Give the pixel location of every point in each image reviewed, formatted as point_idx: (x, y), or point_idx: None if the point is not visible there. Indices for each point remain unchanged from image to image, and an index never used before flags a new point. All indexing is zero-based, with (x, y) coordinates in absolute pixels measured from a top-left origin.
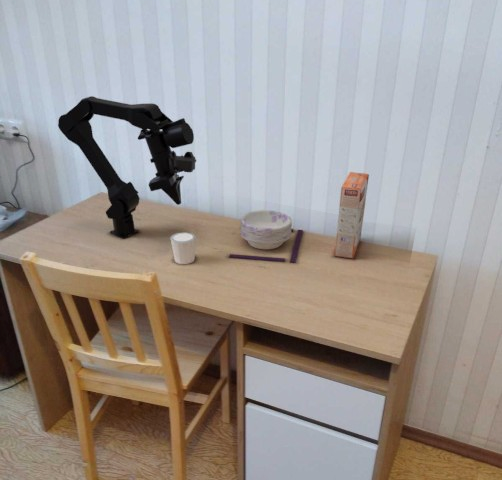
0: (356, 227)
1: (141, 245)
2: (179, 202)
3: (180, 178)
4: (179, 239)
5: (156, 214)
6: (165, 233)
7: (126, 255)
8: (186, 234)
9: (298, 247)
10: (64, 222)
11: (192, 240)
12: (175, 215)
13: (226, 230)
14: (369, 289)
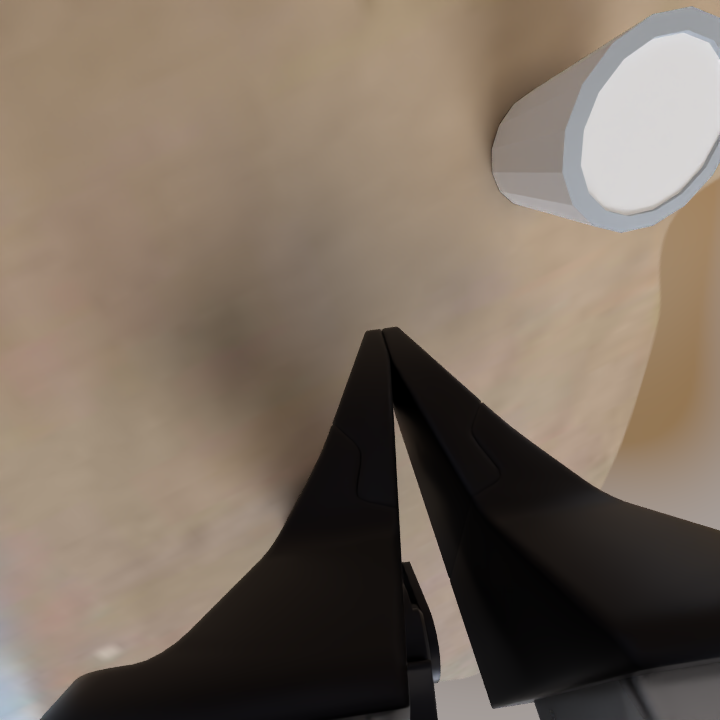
0: None
1: None
2: (406, 340)
3: (404, 701)
4: (685, 145)
5: (100, 509)
6: (277, 380)
7: (519, 413)
8: (598, 127)
9: None
10: None
11: (712, 16)
12: (50, 437)
13: (38, 16)
14: None
